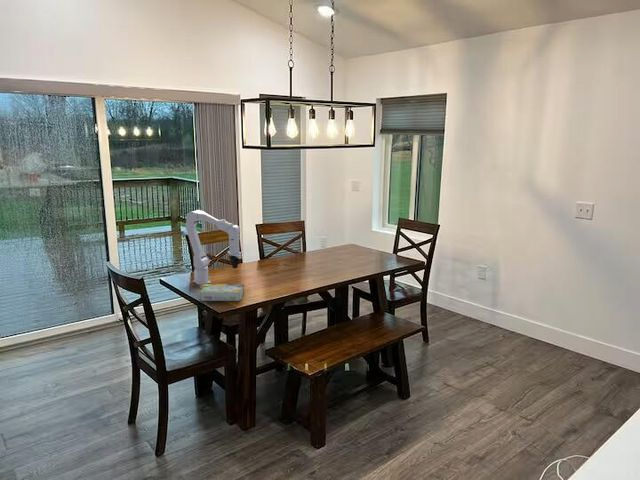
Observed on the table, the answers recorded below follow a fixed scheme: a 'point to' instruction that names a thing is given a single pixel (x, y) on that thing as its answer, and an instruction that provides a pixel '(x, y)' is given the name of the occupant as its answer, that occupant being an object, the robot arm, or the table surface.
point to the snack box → (222, 292)
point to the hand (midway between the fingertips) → (234, 268)
